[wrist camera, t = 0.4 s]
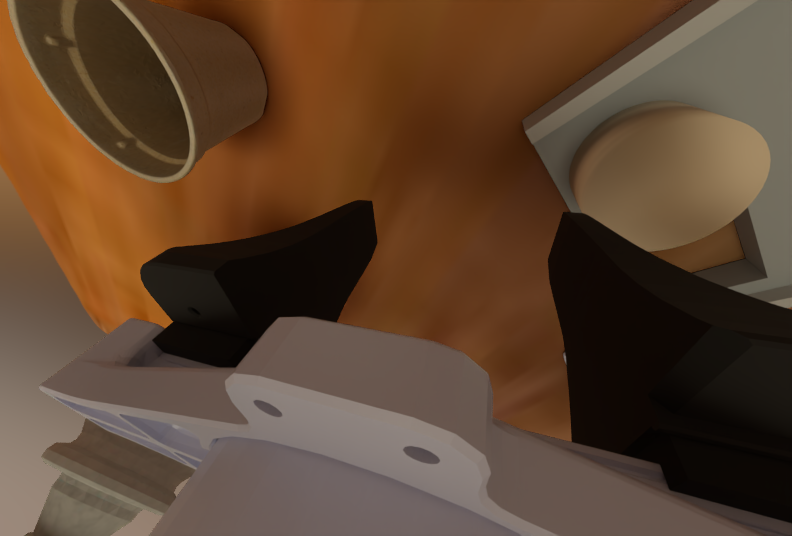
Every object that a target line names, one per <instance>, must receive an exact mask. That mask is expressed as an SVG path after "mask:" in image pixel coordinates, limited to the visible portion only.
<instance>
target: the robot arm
mask: <svg viewBox="0 0 792 536" xmlns="http://www.w3.org/2000/svg"><path fill="white" fill-rule="evenodd" d="M376 245H377V234H376V227H375V219H374V212H373V204H372V201H365V200H357V201H354V202H351V203H348V204H346V205H343V206H341V207H339V208H336V209H334V210H332V211H330V212H327V213H325V214H323V215H320V216H318V217H316V218H313V219H311V220H308V221H306V222H303V223H301V224H298V225H295V226H292V227H289V228H286V229H283V230H279V231H276V232H272V233H268V234H264V235H260V236H255V237H251V238H246V239H241V240H235V241H229V242H222V243H214V244H205V245H194V246H182V247H173V248H170V249H168V250H166V251H164V252H163V253H161V254H160V255H158V256H156V257H155V258H153V259H151V260H150V261H148V262H147V263H145V264H143V265H142V267H141V270H140V274H141V280H142V282H143V284H144V286H145V288H146V289H147V290H148V292H149V293H150V295H151V296H152V297H153V298H154V299H155V301H156V302H157V303H158V304H159V305H160V307H161V308H162V309H163V310H164V311H165V312H166V314H167V315H168V316H169V317H170V318H171V320H172V321H174V322H173V323H171V324H170V325H169V326H168V327H167V328H166V329H165V328H163V327H162V326H160V325H158V324H155V323H152V322H148V321H143V320H139V319H135V318H130V319H128V320H127V321H126V322H124V323H123V324H122V325H120V326H119V327H118V328H116V329H115V330H114V331H112V332H111V333H110V334H108V335H107V336H105V337H104V338H103V339H101V340H100V341H99V342H97V343H96V344H95V345H93V346H92V347H91V348H89V349H88V350H87V351H85V352H84V353H83V354H81V355H80V356H78V357H77V358H76V359H75V360H73V361H72V362H71V363H69V364H68V365H66V366H65V367H64V368H62V369H61V370H60V371H58V372H57V373H56V374H54V375H53V376H51V377H50V378H49V379H47V380H46V381H45V382H43V383H42V384H41V385H40V386H39V390H41V391H43V392H44V393H46V394H48V395H50V396H51V397H53V398H54V399H56V400H57V401H59V402H61V403H62V404H64V405H66V406H67V407H69V408H71V409H72V410H74V411H76V412H77V413H79V414H80V415H82V416H84V417H85V418H87V419H89V420H90V421H92V422H94V423H95V424H97V425H98V426H100V427H102V428H103V429H105V430H107V431H110V432H112V433H114V434H117V435H119V436H122V437H124V438H126V439H129V440H131V441H133V442H136V443H138V444H140V445H143V446H145V447H147V448H150V449H152V450H154V451H156V452H158V453H161V454H163V455H165V456H167V457H169V458H172V459H174V460H176V461H178V462H180V463H183V464H185V465H187V466H189V467H191V468H193V469H196V470H195V472H194V473H193V475H192V476H191V477H190V479H189V480H188V482H187V483H186V485H185V486H184V487H183V489H182V490H181V491H180V493H179V494H178V496H177V497H176V498H175V500H174V501H173V503H172V504H171V505H170V507H169V508H168V510H167V511H166V512H165V514H164V515H163V517H162V518H161V520H160V521H159V522H158V523H157V525H156V526H155V528H154V529H153V530H152V532H151V533H150V535H149V536H792V310H791V309H787V308H784V307H781V306H778V305H775V304H772V303H769V302H766V301H763V300H760V299H757V298H754V297H751V296H748V295H745V294H742V293H740V292H737V291H734V290H732V289H729V288H727V287H724V286H721V285H719V284H716V283H714V282H711V281H708V280H706V279H704V278H701V277H699V276H697V275H694V274H692V273H690V272H688V271H685V270H683V269H681V268H679V267H677V266H675V265H672V264H670V263H668V262H666V261H664V260H662V259H660V258H658V257H656V256H655V255H653V254H651V253H649V252H647V251H646V250H644V249H642V248H640V247H638V246H637V245H635V244H633V243H632V242H630V241H628V240H627V239H625V238H624V237H622V236H620V235H619V234H617V233H616V232H614V231H613V230H611V229H609V228H608V227H606V226H605V225H603V224H602V223H600V222H599V221H597V220H595V219H594V218H592V217H590V216H589V215H587V214H584V213H575V212H563V214H562V218H561V221H560V224H559V227H558V230H557V233H556V236H555V239H554V242H553V245H552V248H551V252H550V255H549V258H548V268H549V280H550V285H551V290H552V294H553V298H554V302H555V306H556V310H557V314H558V318H559V322H560V326H561V330H562V335H563V340H564V347H565V352H564V353H563V357H564V360H565V362H566V365H567V375H568V386H569V399H570V415H571V434H572V442H569V441H565V440H561V439H557V438H553V437H550V436H546V435H542V434H538V433H534V432H530V431H526V430H522V429H519V428H517V427H515V426H512V425H510V424H508V423H505V422H503V421H501V420H498V419H496V418H494V417H492V413H493V391H492V387H491V383H490V379H489V375H488V373H487V372H486V371H484V370H483V369H482V368H481V367H480V366H479V365H477V364H476V363H475V362H474V361H473V360H471V359H470V358H469V357H468V356H467V355H466V354H464V353H463V352H462V351H460V350H457V349H454V348H451V347H449V346H446V345H443V344H440V343H437V342H435V341H432V340H427V339H421V338H416V337H411V336H405V335H400V334H395V333H390V332H384V331H379V330H374V329H368V328H363V327H358V326H353V325H347V324H342V323H337V320H338V318H339V316H340V313H341V311H342V309H343V307H344V305H345V303H346V301H347V299H348V297H349V295H350V294H351V292H352V290H353V289H354V287H355V285H356V284H357V282H358V280H359V279H360V277H361V276H362V274H363V272H364V270H365V269H366V267H367V265H368V264H369V262H370V260H371V258H372V255H373V253H374V250H375V248H376Z"/></svg>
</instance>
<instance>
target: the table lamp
mask: <svg viewBox="0 0 792 536" xmlns="http://www.w3.org/2000/svg"><path fill="white" fill-rule="evenodd" d="M165 329H166V328H165ZM41 457H42V459H43V461H44V462H45V463H46V464H48V465H50V466H52V467H54V468H56V469H58V470H60V471H62V473H61V475H60V477H59V478H58V479H57V481H56V482H55V483H54V485H53V486H52V488H51V490H50V493H49V495H48V497H47V500H46V503H45V505H44V507H43V510H42V512H41V515H40V517H39V520H38V522H37V525H36V527H35V530H34V532H30V533H27V534H26V535H25V536H110V535H112V534H113V533H114V532H116V531H117V530H119V529H121V528H122V527H123V526H125V525H127V524H128V523H130V522H131V521H132V520H133V519H134V518H135V517H136V516H137V514H138V513H139V512H140V511H142V510H143V509H146V510H148V511H150V512H153V513H155V514H158V515H164V514H165V512H166V511H167V510H168V508H169V507H170V505H171V504H172V503H173V501H174V500H175V498H176V496H175V494H174V491H175V489H176V487H177V486H178V485H179V484H180V483H181V482H182V481H184V480H186V479H188V478H189V477H191V476H192V475H193V473H194V472H195V470H196V469H193V468H191V467H189V466H187V465H185V464H183V463H180V462H178V461H176V460H174V459H172V458H169V457H167V456H165V455H163V454H161V453H158V452H156V451H154V450H152V449H150V448H147V447H145V446H143V445H140V444H138V443H136V442H133V441H131V440H129V439H126V438H124V437H122V436H119V435H117V434H114V433H112V432H110V431H107V430H105V429H103V428H102V427H100V426H98V425H97V424H95V423H94V422H92V421H90V420H89V419H87V418H86V419H85V423H84V426H83V430H82V433H81V434H80V435H79V436H78V438H77V439H76V440H74V441H73V442H71V443H55V444H54V445H52V446H50V447H49V448H47V449H46V451H45V452H44V453H43V455H42V456H41Z"/></svg>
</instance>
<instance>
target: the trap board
mask: <svg viewBox="0 0 792 536" xmlns="http://www.w3.org/2000/svg"><path fill="white" fill-rule="evenodd" d="M660 100H669V101H677V102H682V103H685V104H688V105H691V106H694V107H697V108H700V109H703V110H706V111H710V112H713V113H716V114H719V115H722V116H725V117H728V118H731V119H734V120H737V121H740V122H743V123H745V124H747V125H749V126H751V127H752V128H754V129H755V130H756V131H757V132H759V133H760V134H761V135H762V137H763V138H764V140H765V141H766V142H767V145H768V148H769V151H770V159H771V161H770V170H769V173H768V176H767V179H766V181H765V183H764V185H763V188H762V189H761V191H760V192H759V194H758V195H757V197H756V198H755V199H754V200H753V202H752V203H751V204H750V205H749V206H748V207H747V208H746V209H745V210H744V211H743V212H742V213H741V214H740V215H739V216H737V217H736V218H735V219H734V222H735V226H736V229H737V232H738V235H739V238H740V242H741V245H742V248H743V251H744V254H745V258H746V259H742V260H739V261H735V262H731V263H728V264H724V265H721V266H717V267H713V268H710V269H706V270H702V271H699V272H695V273H692V274H694V275H697V276H699V277H701V278H704V279H706V280H708V281H711V282H714V283H716V284H719V285H721V286H724V287H727V288H729V289H732V290H734V291H737V292H740V293H742V294H745V295H748V296H751V297H754V298H757V299H760V300H763V301H766V302H769V303H772V304H775V305H778V306H781V307H784V308H789V307H792V0H693V1H691V2H690V3H688V4H687V5H685V6H684V7H683V8H681V9H680V10H678V11H677V12H675V13H674V14H673V15H671V16H670V17H668V18H667V19H666V20H664V21H663V22H661V23H660V24H658V25H657V26H656V27H654V28H653V29H651V30H650V31H648V32H647V33H646V34H644V35H643V36H641V37H640V38H638V39H637V40H636V41H634V42H633V43H631V44H630V45H628V46H627V47H626V48H624V49H623V50H621V51H620V52H619V53H617V54H616V55H614V56H613V57H611V58H610V59H609V60H607V61H606V62H604V63H603V64H601V65H600V66H599V67H597V68H596V69H594V70H593V71H591V72H590V73H589V74H587V75H586V76H584V77H583V78H581V79H580V80H579V81H577V82H576V83H574V84H573V85H572V86H570V87H569V88H567V89H566V90H564V91H563V92H562V93H560V94H559V95H557V96H556V97H554V98H553V99H552V100H550V101H549V102H547V103H546V104H544V105H543V106H542V107H540V108H539V109H537V110H536V111H534V112H533V113H532V114H530V115H529V116H527V117H526V118H525V119H523V120H522V123H523V126H524V130H525V133H526V134H527V136H528V138H529V140H530V142H531V143H532V144H533V145H534V147H535V149H536V150H537V152H538V154H539V156H540V158H541V159H542V161H543V163H544V165H545V167H546V168H547V170H548V172H549V174H550V175H551V177H552V179H553V181H554V183H555V184H556V186H557V188H558V190H559V192H560V193H561V195H562V197H563V199H564V200H565V202H566V204H567V206H568V208H569V209H570V211H571V212H575V213H582V212H581V210H580V208H579V205H578V203H577V201H576V199H575V197H574V195H573V193H572V190H571V188H570V184H569V170H570V166H571V162H572V160H573V157H574V155H575V153H576V151H577V149H578V148H579V146H580V145H581V143H582V142H583V141H584V139H585V138H586V137H587V136H588V135H589V134H590V133H591V132H592V131H593V130H594V129H595V128H596V127H597V126H599V125H600V124H601V123H602V122H604V121H605V120H607V119H608V118H610V117H611V116H613V115H615V114H616V113H618V112H620V111H622V110H624V109H627V108H629V107H632V106H635V105H638V104H641V103H646V102H650V101H660Z"/></svg>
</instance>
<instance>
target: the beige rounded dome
mask: <svg viewBox="0 0 792 536" xmlns="http://www.w3.org/2000/svg"><path fill="white" fill-rule="evenodd" d="M770 161H771V159H770V151H769V148H768V145H767V142H766V141H765V140H764V138H763V137H762V135H761V134H760V133H759V132H757V131H756V130H755V129H754V128H752V127H751V126H749V125H747V124H745V123H743V122H740V121H737V120H734V119H731V118H728V117H725V116H722V115H719V114H716V113H713V112H710V111H706V110H703V109H700V108H697V107H694V106H691V105H688V104H685V103H682V102H677V101H669V100H660V101H650V102H646V103H641V104H638V105H635V106H632V107H629V108H627V109H624V110H622V111H620V112H618V113H616V114H615V115H613V116H611V117H610V118H608V119H607V120H605V121H604V122H602V123H601V124H600V125H599V126H597V127H596V128H595V129H594V130H593V131H592V132H591V133H590V134H589V135H588V136H587V137H586V138H585V139H584V141H583V142H582V143H581V145H580V146H579V148H578V149H577V151H576V153H575V155H574V157H573V160H572V162H571V166H570V170H569V184H570V188H571V190H572V193H573V195H574V197H575V199H576V201H577V203H578V205H579V208H580V210H581V212H582V213H584V214H587V215H589V216H590V217H592V218H594V219H595V220H597V221H599V222H600V223H602V224H603V225H605V226H606V227H608V228H609V229H611V230H613V231H614V232H616V233H617V234H619V235H620V236H622V237H624V238H625V239H627V240H628V241H630V242H632V243H633V244H635V245H637V246H638V247H640V248H642V249H644V250H646V251H659V250H666V249H671V248H675V247H679V246H682V245H686V244H689V243H692V242H694V241H697V240H699V239H701V238H704V237H706V236H708V235H710V234H712V233H714V232H715V231H717V230H719V229H721V228H722V227H724V226H725V225H727V224H728V223H730V222H731V221H732V220H734V219H735V218H736V217H737V216H739V215H740V214H741V213H742V212H743V211H744V210H745V209H746V208H747V207H748V206H749V205H750V204H751V203H752V202H753V200H754V199H755V198H756V197H757V195H758V194H759V192H760V191H761V189H762V188H763V185H764V183H765V181H766V179H767V176H768V173H769V170H770Z"/></svg>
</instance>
